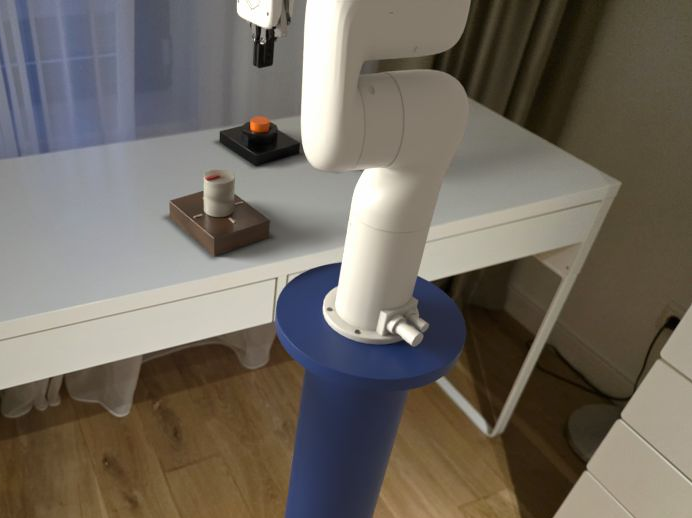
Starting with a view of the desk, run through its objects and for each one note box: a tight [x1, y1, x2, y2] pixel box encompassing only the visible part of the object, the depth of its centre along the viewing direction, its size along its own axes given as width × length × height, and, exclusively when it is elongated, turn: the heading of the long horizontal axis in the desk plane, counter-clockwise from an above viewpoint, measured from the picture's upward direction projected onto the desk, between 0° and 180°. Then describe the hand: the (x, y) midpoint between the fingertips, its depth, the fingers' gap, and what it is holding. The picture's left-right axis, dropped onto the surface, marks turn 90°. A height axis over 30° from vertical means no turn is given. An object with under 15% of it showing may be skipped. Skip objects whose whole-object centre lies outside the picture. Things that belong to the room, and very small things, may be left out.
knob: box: [203, 169, 236, 217], centre depth 98 cm, size 5×5×6 cm
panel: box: [168, 190, 271, 257], centre depth 101 cm, size 13×10×3 cm
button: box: [249, 116, 271, 132], centre depth 121 cm, size 4×4×2 cm
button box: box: [218, 120, 301, 167], centre depth 122 cm, size 12×10×4 cm
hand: (262, 65), depth 114 cm, fingers closed
